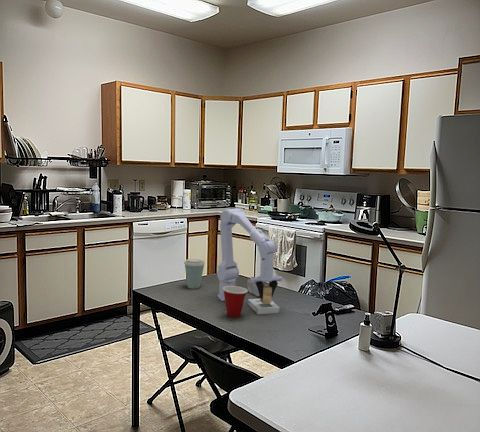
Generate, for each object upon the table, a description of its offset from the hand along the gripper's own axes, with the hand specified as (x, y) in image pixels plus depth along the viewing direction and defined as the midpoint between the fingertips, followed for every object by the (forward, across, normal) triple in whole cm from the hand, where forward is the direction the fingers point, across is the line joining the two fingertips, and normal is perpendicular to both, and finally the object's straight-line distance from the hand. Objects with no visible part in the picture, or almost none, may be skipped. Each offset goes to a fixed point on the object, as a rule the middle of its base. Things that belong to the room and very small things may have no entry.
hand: (266, 297), depth 196 cm
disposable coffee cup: (+6, -24, +44) cm, 50 cm away
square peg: (+2, 0, 0) cm, 2 cm away
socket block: (+6, 0, +3) cm, 7 cm away
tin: (+6, +4, +24) cm, 25 cm away
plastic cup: (+6, -15, -3) cm, 17 cm away
